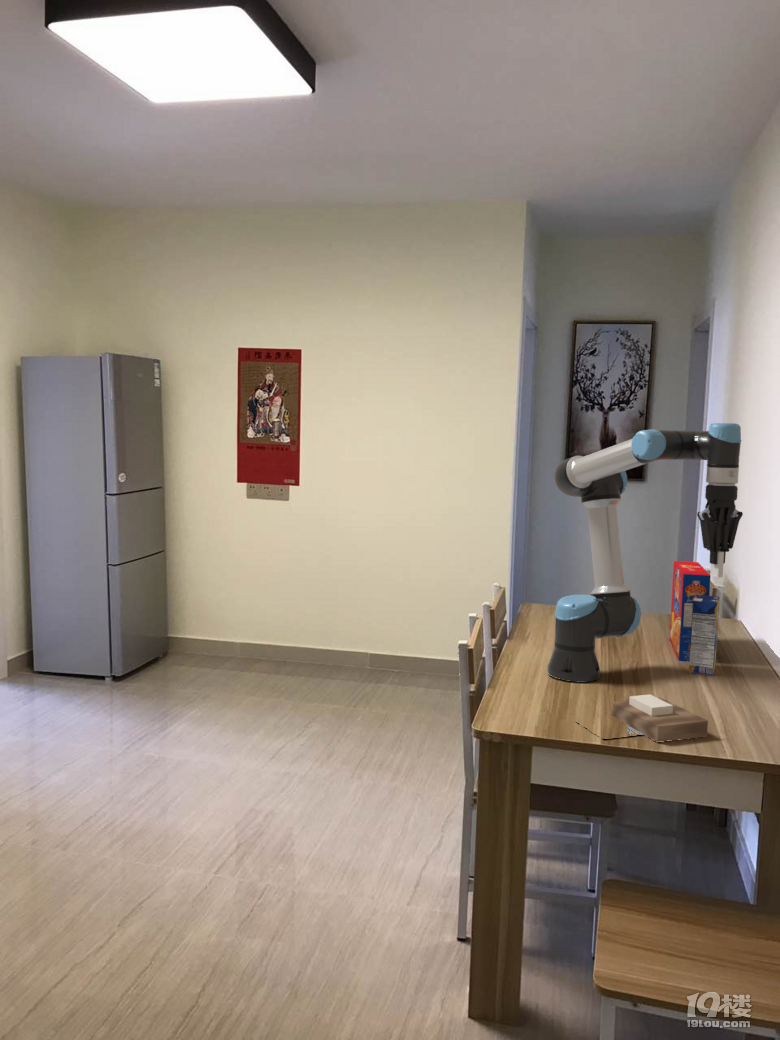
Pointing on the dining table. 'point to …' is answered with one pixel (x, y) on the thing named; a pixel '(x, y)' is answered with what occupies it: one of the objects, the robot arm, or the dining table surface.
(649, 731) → the brown wooden slab
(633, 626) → the robot arm
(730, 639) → the dining table surface
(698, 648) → the beverage box
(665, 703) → the white rectangular block
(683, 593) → the red blue cereal box
